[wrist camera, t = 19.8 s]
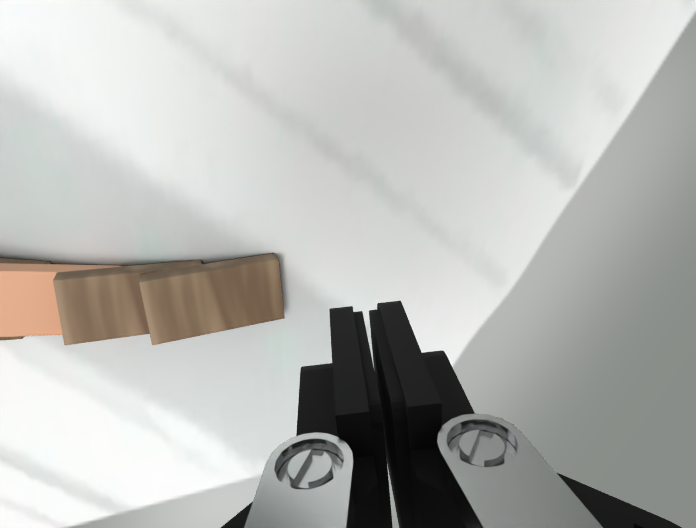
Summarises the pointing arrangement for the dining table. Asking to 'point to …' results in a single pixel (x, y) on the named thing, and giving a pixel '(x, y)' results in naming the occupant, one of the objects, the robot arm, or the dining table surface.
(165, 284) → the domino
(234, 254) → the dining table surface
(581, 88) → the dining table surface
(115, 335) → the domino
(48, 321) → the domino
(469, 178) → the dining table surface
